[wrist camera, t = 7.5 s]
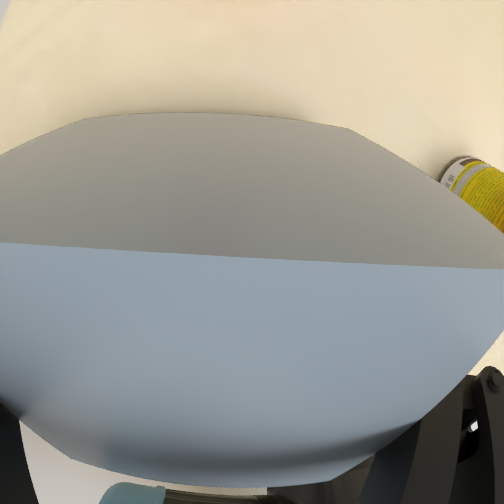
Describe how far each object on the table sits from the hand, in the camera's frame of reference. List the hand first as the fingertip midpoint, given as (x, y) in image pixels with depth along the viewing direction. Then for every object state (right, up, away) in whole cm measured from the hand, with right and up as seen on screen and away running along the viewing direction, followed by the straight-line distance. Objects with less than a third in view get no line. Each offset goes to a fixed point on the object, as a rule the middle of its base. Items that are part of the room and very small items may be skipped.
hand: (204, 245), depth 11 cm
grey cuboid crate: (0, 0, +1) cm, 1 cm away
